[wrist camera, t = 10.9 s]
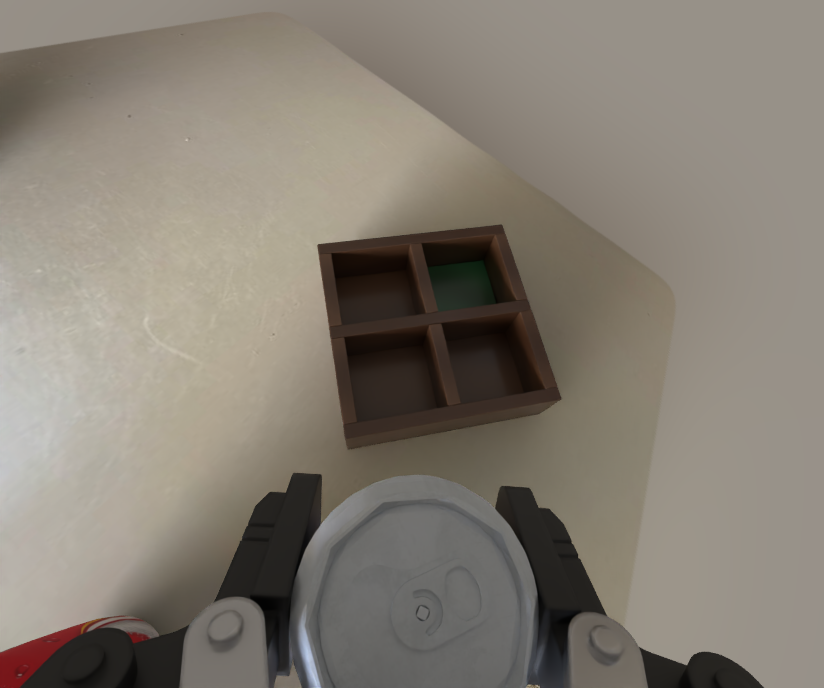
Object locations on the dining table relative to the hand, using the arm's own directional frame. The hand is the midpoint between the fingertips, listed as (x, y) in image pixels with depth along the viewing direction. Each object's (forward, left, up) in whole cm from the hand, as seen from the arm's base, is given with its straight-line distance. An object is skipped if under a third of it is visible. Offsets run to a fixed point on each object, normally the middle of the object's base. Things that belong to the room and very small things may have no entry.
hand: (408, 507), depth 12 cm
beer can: (-2, 0, -8) cm, 9 cm away
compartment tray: (+13, -6, -22) cm, 26 cm away
